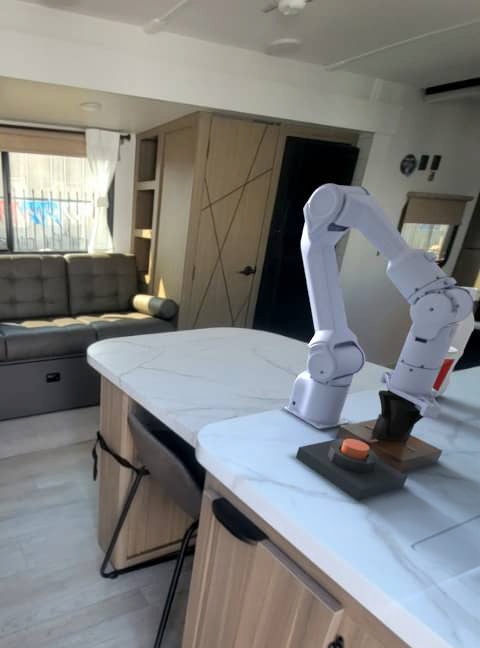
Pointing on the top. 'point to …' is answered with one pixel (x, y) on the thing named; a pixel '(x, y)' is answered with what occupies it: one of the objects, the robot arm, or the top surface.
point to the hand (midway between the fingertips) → (390, 434)
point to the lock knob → (386, 428)
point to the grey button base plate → (351, 469)
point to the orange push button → (355, 448)
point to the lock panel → (392, 447)
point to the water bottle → (460, 340)
